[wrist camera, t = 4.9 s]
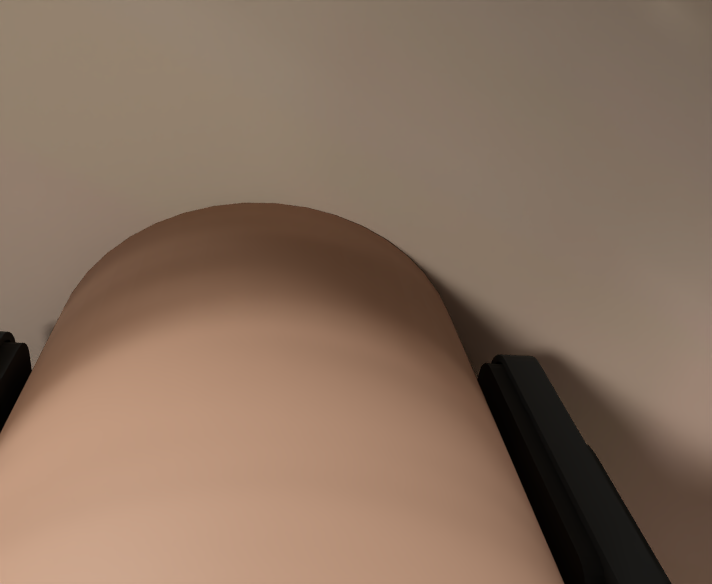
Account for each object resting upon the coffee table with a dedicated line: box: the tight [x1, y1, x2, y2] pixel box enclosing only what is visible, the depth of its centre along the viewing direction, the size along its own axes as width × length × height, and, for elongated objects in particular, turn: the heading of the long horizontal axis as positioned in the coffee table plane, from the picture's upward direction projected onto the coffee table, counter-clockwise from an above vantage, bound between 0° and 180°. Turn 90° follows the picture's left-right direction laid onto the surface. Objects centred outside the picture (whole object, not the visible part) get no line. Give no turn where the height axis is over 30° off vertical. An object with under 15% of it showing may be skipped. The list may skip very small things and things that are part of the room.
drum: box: [0, 203, 564, 584], centre depth 8 cm, size 6×6×6 cm
